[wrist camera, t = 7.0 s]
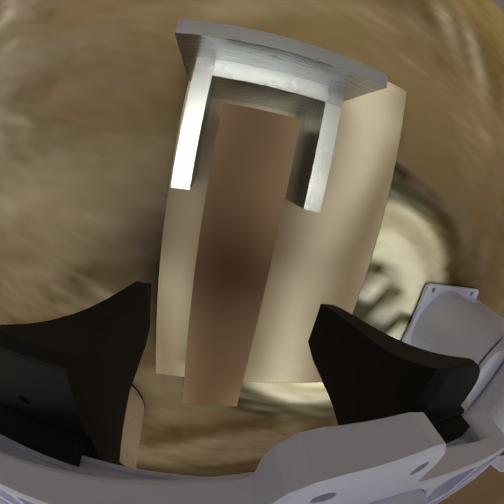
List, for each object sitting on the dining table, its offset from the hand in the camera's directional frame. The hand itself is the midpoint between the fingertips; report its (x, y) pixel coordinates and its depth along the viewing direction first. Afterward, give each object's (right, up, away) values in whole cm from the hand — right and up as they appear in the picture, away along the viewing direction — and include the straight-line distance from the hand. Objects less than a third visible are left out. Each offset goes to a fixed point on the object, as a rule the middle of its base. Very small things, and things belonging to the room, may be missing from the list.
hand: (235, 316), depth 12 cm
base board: (+2, +4, +7) cm, 8 cm away
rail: (-1, +2, +6) cm, 7 cm away
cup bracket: (0, +9, +4) cm, 10 cm away
